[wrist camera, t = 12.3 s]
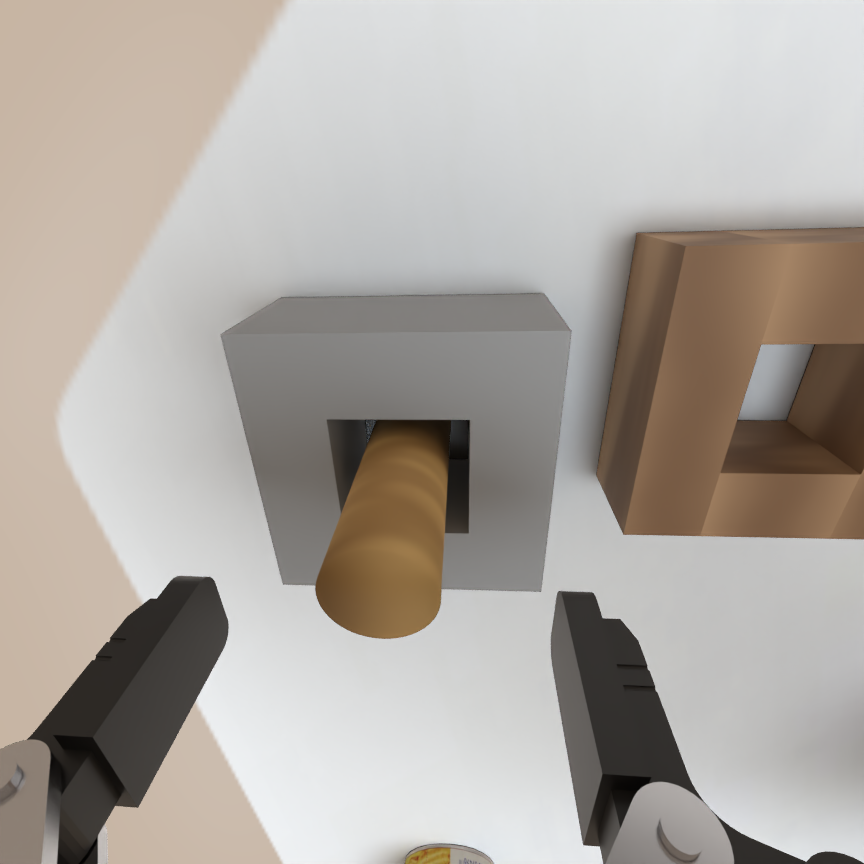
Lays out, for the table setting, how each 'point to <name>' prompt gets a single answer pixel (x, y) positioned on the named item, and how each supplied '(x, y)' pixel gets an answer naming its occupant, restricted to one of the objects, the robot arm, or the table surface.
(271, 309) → the dock
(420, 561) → the pin
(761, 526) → the mount
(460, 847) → the canned food
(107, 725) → the robot arm
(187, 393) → the table surface
